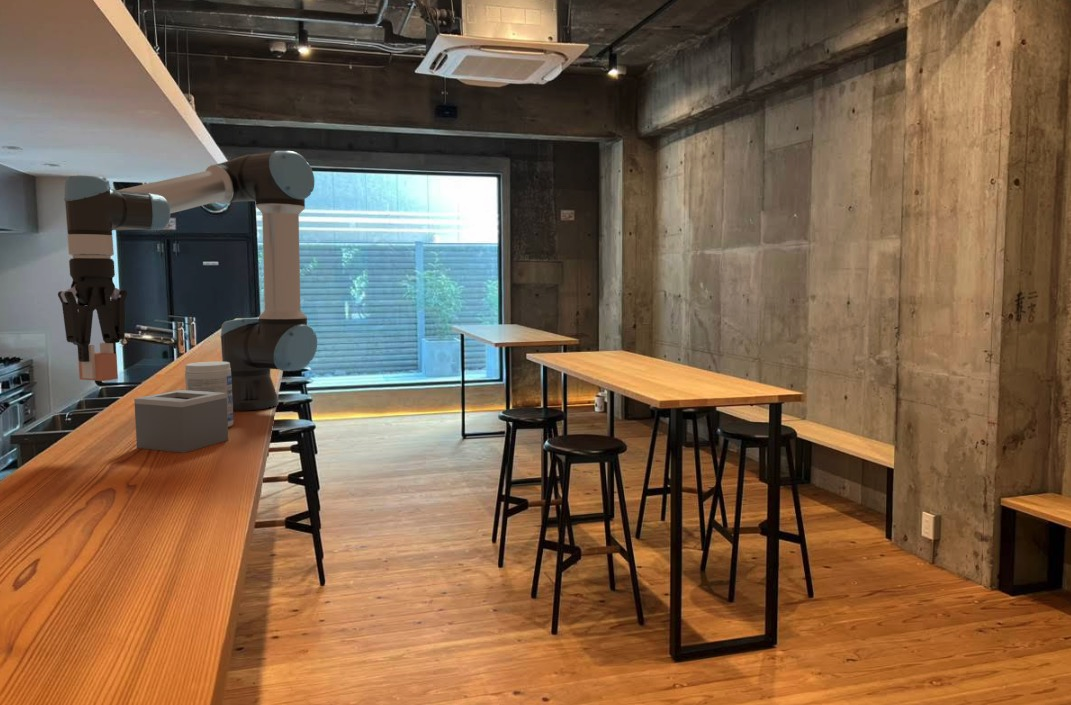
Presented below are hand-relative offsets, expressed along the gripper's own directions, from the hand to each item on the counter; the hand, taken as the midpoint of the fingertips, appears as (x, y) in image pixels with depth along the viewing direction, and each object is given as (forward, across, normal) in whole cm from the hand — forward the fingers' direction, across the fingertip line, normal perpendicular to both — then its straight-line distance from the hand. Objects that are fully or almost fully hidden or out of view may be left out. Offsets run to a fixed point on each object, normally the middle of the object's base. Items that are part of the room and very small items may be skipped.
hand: (98, 376), depth 146 cm
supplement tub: (+15, -23, +5) cm, 28 cm away
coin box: (+14, -8, +12) cm, 21 cm away
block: (0, 0, 0) cm, 0 cm away
